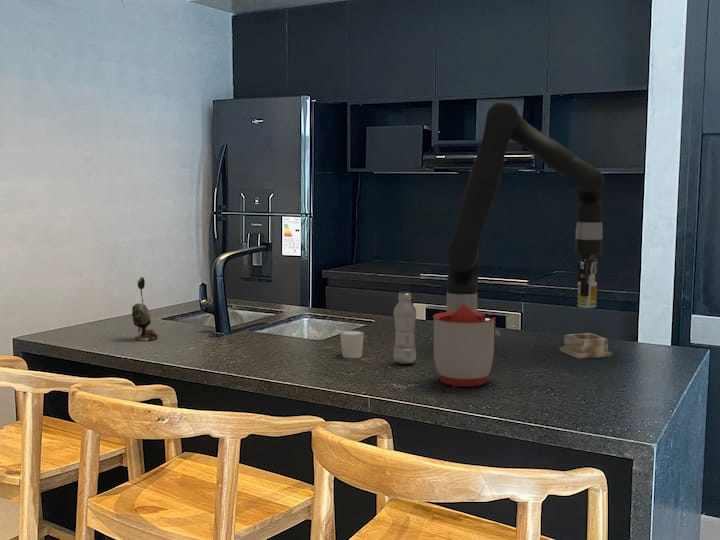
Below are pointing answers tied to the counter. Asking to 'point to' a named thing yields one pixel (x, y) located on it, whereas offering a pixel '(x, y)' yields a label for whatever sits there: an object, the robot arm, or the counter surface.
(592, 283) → the supplement bottle
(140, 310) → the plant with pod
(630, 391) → the counter surface
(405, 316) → the plastic bottle
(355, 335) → the shot glass
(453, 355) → the citrus juicer
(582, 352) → the open square wooden box
